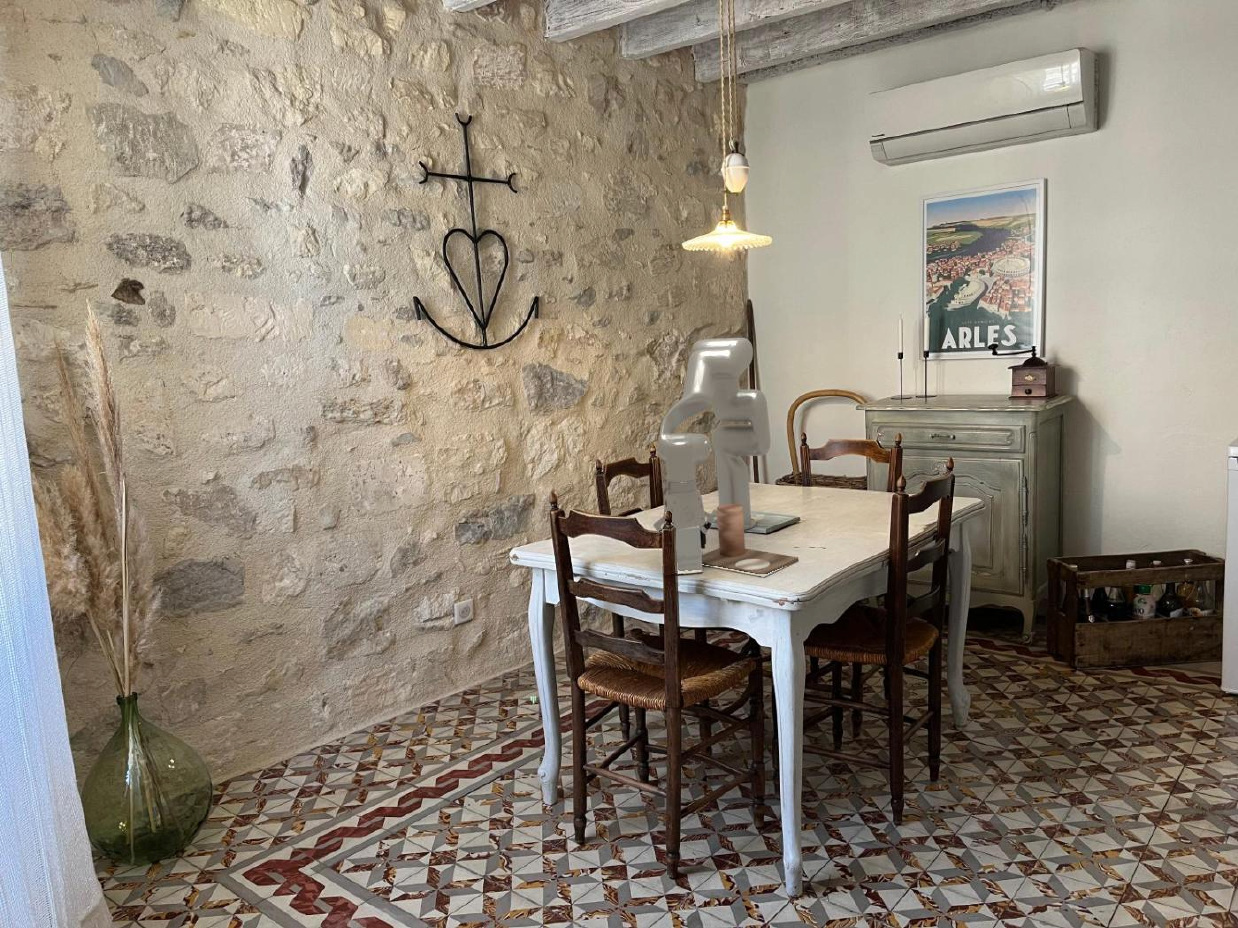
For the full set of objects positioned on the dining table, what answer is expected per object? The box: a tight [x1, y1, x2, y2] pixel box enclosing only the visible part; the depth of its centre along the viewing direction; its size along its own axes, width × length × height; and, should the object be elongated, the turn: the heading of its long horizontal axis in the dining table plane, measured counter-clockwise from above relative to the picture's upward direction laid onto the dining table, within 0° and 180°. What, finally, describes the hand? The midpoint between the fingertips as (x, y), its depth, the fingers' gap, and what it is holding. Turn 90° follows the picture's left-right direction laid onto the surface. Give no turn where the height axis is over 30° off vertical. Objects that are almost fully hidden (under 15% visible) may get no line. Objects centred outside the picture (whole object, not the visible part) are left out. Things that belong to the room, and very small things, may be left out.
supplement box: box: [676, 526, 704, 571], centre depth 249 cm, size 7×7×13 cm
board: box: [702, 504, 799, 574], centre depth 252 cm, size 24×16×14 cm, turn 47°
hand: (686, 549), depth 249 cm, fingers closed on supplement box, 8 cm apart
